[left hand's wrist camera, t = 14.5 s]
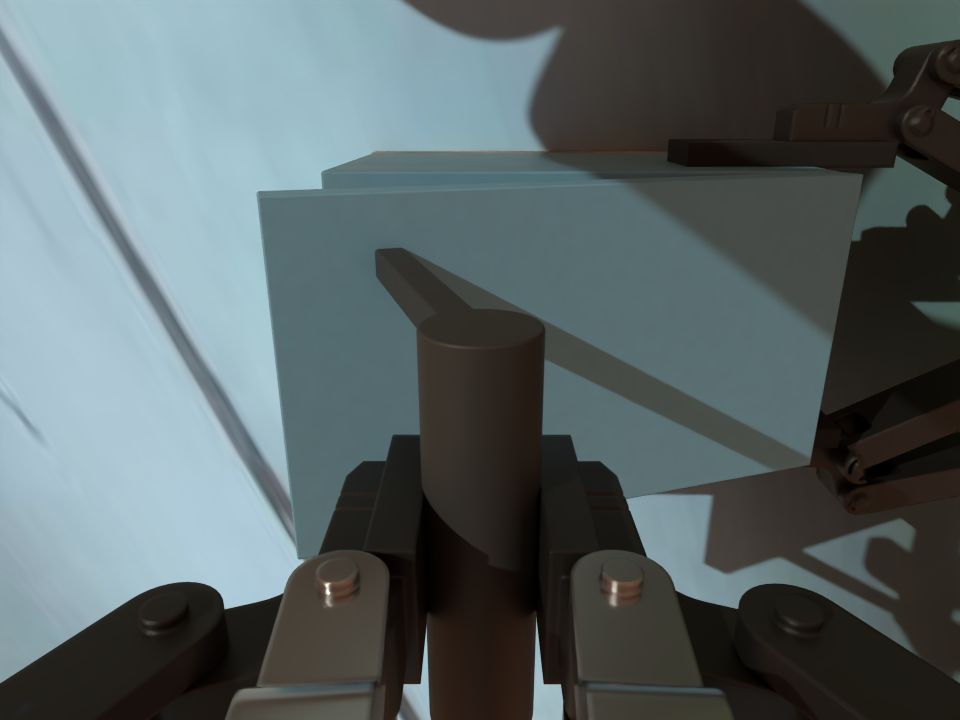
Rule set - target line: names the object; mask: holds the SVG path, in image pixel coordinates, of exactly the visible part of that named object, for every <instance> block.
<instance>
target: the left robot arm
mask: <svg viewBox="0 0 960 720" xmlns="http://www.w3.org/2000/svg"><path fill="white" fill-rule="evenodd" d="M427 615H428V604H427V574H426V543H425V513H424V491H423V488H422V478H421V450H420V434H409V435H393V436H392V439H391V443H390V447H389V451H388V455H387V458H386V461H363V462H362V463H361V464H359V465H358V466H357V467H356V468H355V469H354V470H353V471H351V472H350V473H349V474H348V475H347V476H346V479H345V481H344V484H343V487H342V490H341V492H340V496H339V498H338V501H337V504H336V506H335V511H334V512H333V515H332V518H331V520H330V523H329V526H328V529H327V532H326V534H325V537H324V540H323V543H322V545H321V548H320V551H319V554H318V555H317V556H315V557H313V558H311V559H309V560H307V561H305V562H304V563H302V564H301V565H300V566H298V567H297V568H296V569H295V570H294V571H293V573H292V574H291V575H290V577H289V579H288V581H287V584H286V587H285V590H284V593H283V594H281V595H279V596H276V597H273V598H271V599H268V600H264V601H260V602H256V603H252V604H247V605H243V606H238V607H234V608H229V609H224V603H223V599H222V597H221V595H220V593H219V592H218V591H217V590H215V589H214V588H212V587H211V586H208V585H205V584H201V583H196V582H178V583H172V584H167V585H163V586H159V587H156V588H153V589H151V590H148V591H146V592H144V593H141V594H139V595H138V596H136V597H134V598H132V599H131V600H129V601H128V602H126V603H125V604H123V605H121V606H120V607H118V608H117V609H115V610H114V611H112V612H111V613H109V614H107V615H106V616H104V617H103V618H101V619H100V620H98V621H97V622H95V623H93V624H92V625H90V626H89V627H87V628H86V629H84V630H83V631H81V632H79V633H78V634H76V635H75V636H73V637H72V638H70V639H69V640H67V641H65V642H64V643H62V644H61V645H59V646H58V647H56V648H55V649H53V650H52V651H50V652H48V653H47V654H45V655H44V656H42V657H41V658H39V659H38V660H36V661H34V662H33V663H31V664H30V665H28V666H27V667H25V668H24V669H22V670H20V671H19V672H17V673H16V674H14V675H13V676H11V677H10V678H8V679H6V680H5V681H3V682H2V683H0V720H398V718H397V714H398V712H399V710H400V705H401V700H402V692H403V684H421V674H422V664H423V654H424V644H425V634H426V625H427ZM536 617H537V626H538V635H539V644H540V654H541V663H542V672H543V681H544V684H561V688H562V695H563V718H562V720H960V683H958V682H957V681H955V680H954V679H952V678H950V677H949V676H947V675H946V674H944V673H943V672H941V671H940V670H938V669H936V668H935V667H933V666H932V665H930V664H929V663H927V662H926V661H924V660H922V659H921V658H919V657H918V656H916V655H915V654H913V653H912V652H910V651H909V650H907V649H905V648H904V647H902V646H901V645H899V644H898V643H896V642H895V641H893V640H891V639H890V638H888V637H887V636H885V635H884V634H882V633H881V632H879V631H877V630H876V629H874V628H873V627H871V626H870V625H868V624H867V623H865V622H863V621H862V620H860V619H859V618H857V617H856V616H854V615H853V614H851V613H849V612H848V611H846V610H845V609H843V608H842V607H840V606H839V605H837V604H835V603H834V602H832V601H831V600H829V599H827V598H826V597H824V596H822V595H820V594H817V593H815V592H813V591H810V590H807V589H805V588H801V587H797V586H793V585H787V584H764V585H759V586H756V587H753V588H751V589H750V590H748V591H746V592H745V593H744V594H743V595H742V597H741V599H740V601H739V607H738V609H735V608H730V607H726V606H721V605H717V604H712V603H708V602H704V601H700V600H697V599H694V598H691V597H688V596H686V595H684V594H682V593H680V592H677V591H676V590H675V587H674V584H673V581H672V579H671V577H670V575H669V574H668V573H667V571H666V570H665V569H664V568H663V567H662V566H660V565H659V564H658V563H656V562H655V561H653V560H651V559H649V558H647V556H646V553H645V550H644V547H643V545H642V542H641V539H640V537H639V534H638V531H637V528H636V526H635V523H634V520H633V518H632V515H631V512H630V511H629V507H628V504H627V501H626V499H625V496H623V490H622V488H621V485H620V482H619V480H618V477H617V475H616V474H614V473H613V472H612V471H611V470H610V469H609V468H607V467H606V466H605V465H604V464H603V463H602V462H601V461H578V460H577V456H576V452H575V449H574V445H573V441H572V438H571V435H542V455H541V484H540V496H539V526H538V555H537V585H536Z"/></svg>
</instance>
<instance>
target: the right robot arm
mask: <svg viewBox="0 0 960 720" xmlns="http://www.w3.org/2000/svg"><path fill="white" fill-rule="evenodd" d="M893 73H894V78H893V80H892V82H891V84H890V86H889V87H888V89H887V90H886V92H885V93H884V94H883V95H882V96H881V97H880V98H878V99H877V100H875V101H873V102H870V103H845V104H792V105H789V106H787V107H784V108H782V109H779V110H777V115H776V122H775V129H774V136H773V139H669V145H668V156H667V161H669V162H673V163H676V164H679V165H683V166H686V167H818V168H894V163H895V158H896V155H897V156H899V157H900V158H902V159H904V160H905V161H907V162H909V163H910V164H912V165H914V166H915V167H917V168H919V169H920V170H922V171H924V172H925V173H927V174H929V175H930V176H932V177H934V178H935V179H937V180H939V181H940V182H942V183H944V184H945V185H947V186H949V187H950V188H952V189H954V190H955V191H957V192H959V193H960V121H958V120H956V119H955V118H953V117H951V116H950V115H948V114H947V113H945V112H943V111H942V110H941V108H942V107H943V105H944V103H945V101H946V99H947V98H948V97H950V98H954V99H957V100H960V40H953V41H946V42H940V43H933V44H927V45H920V46H914V47H910V48H907V49H905V50H904V51H903V52H901V53H900V54H899V55H898V57H897V58H896V60H895V62H894V66H893ZM959 430H960V359H958V360H956V361H953V362H951V363H949V364H946V365H944V366H942V367H939V368H937V369H934V370H932V371H930V372H927V373H925V374H923V375H920V376H918V377H916V378H913V379H911V380H909V381H906V382H904V383H902V384H899V385H897V386H895V387H892V388H890V389H887V390H885V391H883V392H880V393H878V394H876V395H873V396H871V397H869V398H866V399H864V400H862V401H859V402H857V403H855V404H852V405H850V406H847V407H845V408H843V409H840V410H838V411H836V412H833V413H831V414H829V415H825V414H824V413H823V412H822V411H821V410H820V412H819V417H818V423H817V428H816V434H815V439H814V444H813V450H812V455H811V461H810V465H806V466H801V467H817V471H816V474H817V477H818V479H819V480H820V481H821V482H822V483H823V484H824V485H825V487H826V488H827V489H828V490H829V491H830V492H831V493H832V495H833V496H834V497H835V498H836V499H837V500H838V501H839V503H840V504H841V505H842V506H843V507H844V508H845V509H846V510H847V511H848V512H849V513H851V514H854V515H862V514H867V513H873V512H878V511H883V510H888V509H894V508H899V507H904V506H909V505H915V504H920V503H925V502H931V501H936V500H941V499H946V498H952V497H957V496H960V432H957V431H959ZM954 432H956V433H954Z"/></svg>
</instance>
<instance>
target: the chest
mask: <svg viewBox="0 0 960 720" xmlns="http://www.w3.org/2000/svg"><path fill="white" fill-rule="evenodd" d="M667 156H668V151H376V152H373V153H372V154H370V155H367V156H365V157H362V158H359V159H356V160H353V161H350V162H348V163H345V164H342V165H339V166H336V167H333V168H331V169H328V170H325V171H323V172H322V173H321V175H322V188H323V189H343V188H372V187H401V186H430V185H459V184H488V183H517V182H546V181H575V180H604V179H633V178H662V177H691V176H720V175H749V174H778V173H807V172H836V171H835V170H829V169H824V168H818V167H686V166H683V165H679V164H676V163H673V162H669V161H667ZM837 172H838V171H837Z"/></svg>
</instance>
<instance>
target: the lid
mask: <svg viewBox="0 0 960 720" xmlns="http://www.w3.org/2000/svg"><path fill="white" fill-rule="evenodd" d="M862 180H863V175H862V174H856V173H846V172H837V171H836V172H807V173H778V174H749V175H720V176H691V177H662V178H633V179H604V180H575V181H546V182H517V183H488V184H459V185H430V186H401V187H372V188H343V189H314V190H284V191H259V192H257V201H258V210H259V218H260V227H261V236H262V245H263V254H264V263H265V272H266V281H267V290H268V299H269V308H270V317H271V326H272V335H273V344H274V353H275V362H276V371H277V380H278V389H279V398H280V407H281V416H282V424H283V433H284V442H285V451H286V460H287V469H288V478H289V487H290V496H291V505H292V514H293V523H294V532H295V541H296V550H297V558H298V559H305V558H310V557H315V556H317V555H318V554H319V551H320V548H321V545H322V543H323V540H324V537H325V534H326V532H327V529H328V526H329V523H330V520H331V518H332V515H333V512H334V511H335V506H336V504H337V501H338V498H339V496H340V492H341V490H342V487H343V484H344V481H345V479H346V476H347V475H348V474H349V473H350V472H351V471H353V470H354V469H355V468H356V467H357V466H358V465H359V464H361V463H362V462H363V461H386V458H387V455H388V451H389V447H390V443H391V439H392V436H393V435H409V434H420V450H421V478H422V488H423V491H424V513H425V543H426V574H427V604H428V615H427V647H428V675H429V703H430V716H431V720H532V716H533V699H534V668H535V638H536V585H537V555H538V526H539V496H540V484H541V455H542V435H571V438H572V441H573V445H574V449H575V452H576V456H577V460H578V461H601V462H602V463H603V464H604V465H605V466H606V467H607V468H609V469H610V470H611V471H612V472H613V473H614V474H616V475H617V477H618V480H619V482H620V485H621V488H622V490H623V496H625V499H628V498H634V497H639V496H645V495H650V494H655V493H661V492H666V491H672V490H677V489H682V488H688V487H693V486H699V485H704V484H709V483H715V482H720V481H726V480H731V479H736V478H742V477H747V476H752V475H758V474H763V473H769V472H774V471H779V470H785V469H790V468H796V467H801V466H806V465H810V461H811V455H812V450H813V444H814V439H815V434H816V428H817V423H818V417H819V412H820V407H821V401H822V396H823V390H824V385H825V380H826V374H827V369H828V363H829V358H830V353H831V347H832V342H833V336H834V331H835V326H836V320H837V315H838V309H839V304H840V299H841V293H842V288H843V282H844V277H845V272H846V266H847V261H848V255H849V250H850V245H851V239H852V234H853V228H854V223H855V218H856V212H857V207H858V201H859V196H860V191H861V185H862Z"/></svg>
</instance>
